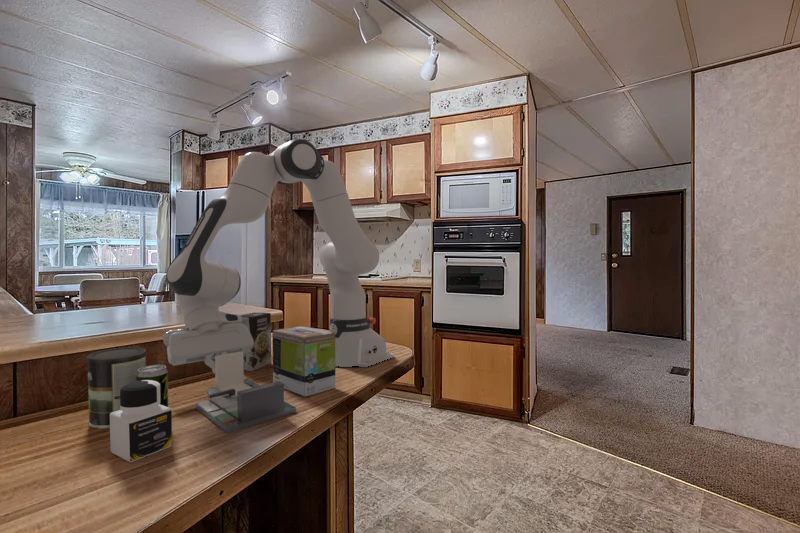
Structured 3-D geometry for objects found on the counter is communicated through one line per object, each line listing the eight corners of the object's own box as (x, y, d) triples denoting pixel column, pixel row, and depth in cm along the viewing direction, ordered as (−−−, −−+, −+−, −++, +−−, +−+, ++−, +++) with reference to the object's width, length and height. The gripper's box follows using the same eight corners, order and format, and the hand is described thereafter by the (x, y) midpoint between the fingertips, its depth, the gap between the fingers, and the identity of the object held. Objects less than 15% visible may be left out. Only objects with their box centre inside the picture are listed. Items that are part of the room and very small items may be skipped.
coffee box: (253, 371, 121) (252, 316, 120) (235, 369, 123) (234, 315, 122) (272, 363, 130) (271, 312, 129) (255, 361, 132) (254, 311, 131)
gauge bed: (258, 392, 103) (258, 364, 103) (296, 411, 90) (295, 380, 90) (195, 408, 93) (194, 377, 93) (227, 433, 80) (226, 397, 80)
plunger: (241, 391, 100) (240, 351, 100) (257, 400, 94) (257, 358, 93) (196, 401, 93) (195, 359, 93) (211, 413, 87) (210, 367, 86)
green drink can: (137, 435, 79) (136, 373, 78) (137, 425, 83) (135, 367, 83) (170, 429, 82) (168, 369, 81) (167, 419, 86) (166, 363, 86)
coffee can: (81, 432, 80) (79, 361, 80) (96, 413, 90) (94, 349, 89) (143, 424, 84) (141, 355, 84) (151, 406, 94) (149, 345, 93)
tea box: (337, 388, 106) (336, 331, 106) (304, 398, 99) (303, 337, 98) (303, 376, 117) (303, 324, 116) (271, 384, 109) (270, 329, 109)
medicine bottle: (130, 463, 68) (128, 392, 68) (109, 452, 72) (108, 385, 72) (173, 446, 75) (171, 381, 74) (152, 437, 78) (150, 374, 78)
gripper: (163, 323, 99) (176, 372, 92) (246, 314, 113) (263, 356, 107) (158, 339, 102) (171, 387, 96) (239, 328, 117) (255, 369, 110)
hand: (220, 371), depth 101 cm, fingers closed
